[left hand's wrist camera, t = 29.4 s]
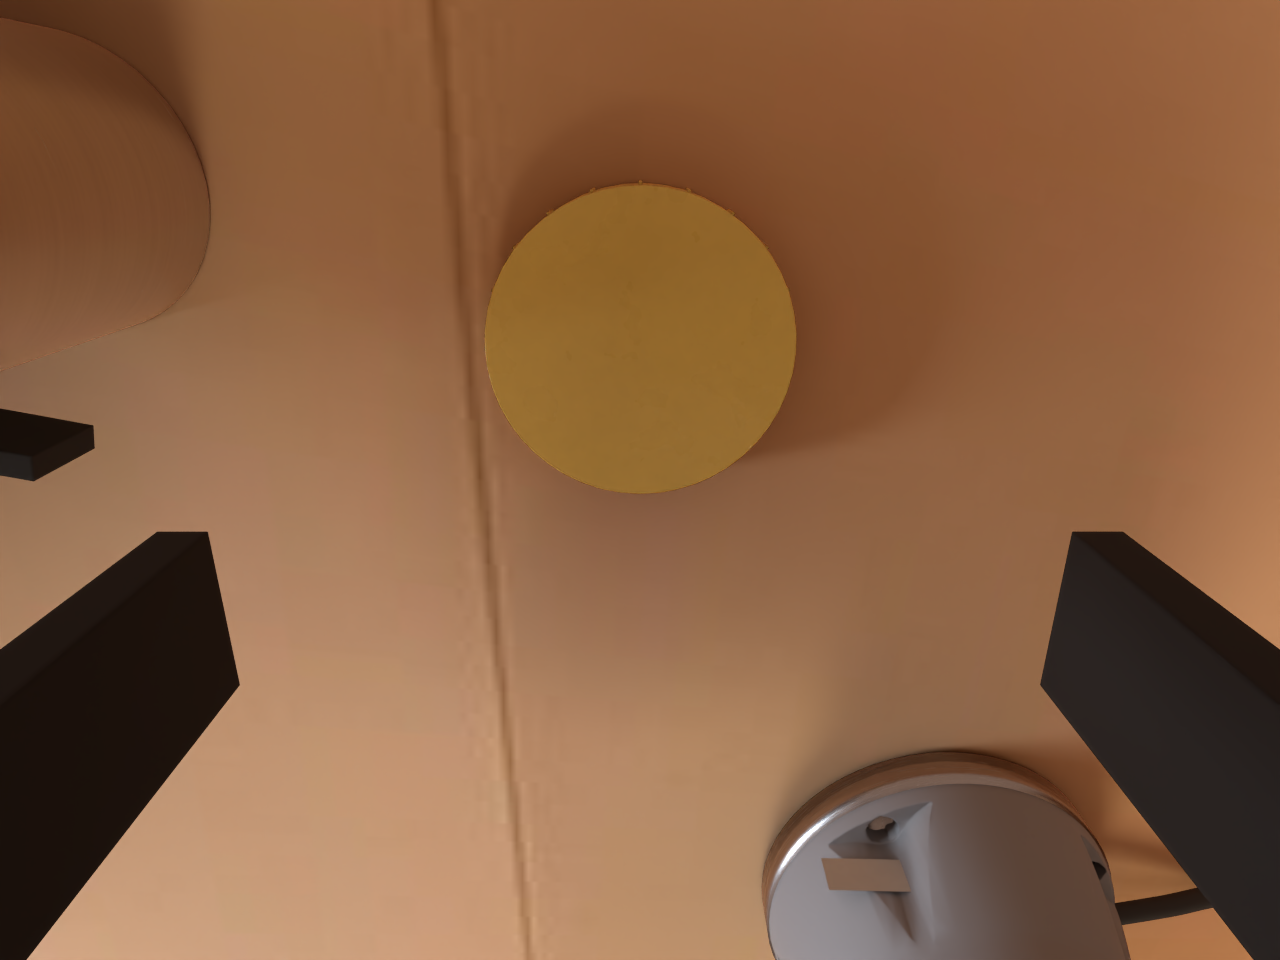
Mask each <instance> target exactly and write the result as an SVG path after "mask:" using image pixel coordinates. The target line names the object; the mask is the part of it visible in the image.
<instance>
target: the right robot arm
mask: <svg viewBox="0 0 1280 960" xmlns="http://www.w3.org/2000/svg"><path fill="white" fill-rule="evenodd" d="M94 448H95V447H94V428H93V425H88V424H82V423H77V422H71V421H66V420H60V419H55V418H49V417H44V416H38V415H33V414H27V413H22V412H16V411H11V410H5V409H0V475H1V476H7V477H12V478H18V479H24V480H30V481H35V480H37V479H39V478H41V477H43V476H44V475H46V474H48V473H50V472H52V471H54V470H55V469H57V468H59V467H61V466H63V465H65V464H67V463H68V462H70V461H72V460H74V459H76V458H78V457H79V456H81V455H83V454H85V453H87V452H89V451H90V450H92V449H94Z"/></svg>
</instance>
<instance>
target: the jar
mask: <svg viewBox="0 0 1280 960" xmlns="http://www.w3.org/2000/svg"><path fill="white" fill-rule="evenodd" d="M209 227H210V204H209V197H208V190H207V184H206V180H205V177H204V173H203V169H202V166H201V163H200V160H199V158H198V155H197V153H196V150H195V147H194V145H193V143H192V141H191V139H190V137H189V135H188V133H187V132H186V130H185V128H184V126H183V124H182V123H181V121H180V120H179V118H178V117H177V115H176V114H175V112H174V111H173V109H172V108H171V106H170V105H169V104H168V103H167V102H166V100H165V99H164V98H163V97H162V96H161V94H160V93H159V92H158V91H157V90H156V88H155V87H154V86H153V85H151V84H150V83H149V82H148V81H147V80H146V79H145V78H144V77H143V76H142V75H141V74H140V73H139V72H138V71H137V70H135V69H134V68H133V67H131V66H130V65H129V64H128V63H126V62H125V61H124V60H122V59H121V58H120V57H118V56H116V55H115V54H113V53H112V52H110V51H108V50H107V49H105V48H104V47H102V46H100V45H98V44H96V43H93V42H91V41H89V40H87V39H85V38H83V37H80V36H77V35H74V34H71V33H68V32H65V31H62V30H58V29H53V28H49V27H44V26H39V25H34V24H30V23H25V22H20V21H15V20H11V19H6V18H1V17H0V371H3V370H6V369H9V368H12V367H15V366H18V365H21V364H23V363H26V362H29V361H32V360H35V359H38V358H41V357H44V356H47V355H50V354H53V353H56V352H58V351H61V350H64V349H67V348H70V347H73V346H76V345H79V344H82V343H85V342H88V341H91V340H93V339H96V338H99V337H102V336H105V335H108V334H111V333H114V332H117V331H120V330H123V329H126V328H128V327H131V326H134V325H137V324H140V323H142V322H145V321H147V320H150V319H152V318H154V317H155V316H157V315H159V314H160V313H162V312H164V311H165V310H167V309H168V308H169V307H170V306H171V305H173V304H174V303H175V302H176V301H177V300H178V299H179V298H180V297H181V296H182V295H183V294H184V292H185V291H186V290H187V289H188V288H189V286H190V284H191V283H192V281H193V280H194V278H195V276H196V275H197V273H198V270H199V268H200V266H201V263H202V261H203V258H204V255H205V251H206V247H207V243H208V236H209Z"/></svg>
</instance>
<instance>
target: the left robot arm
mask: <svg viewBox="0 0 1280 960" xmlns="http://www.w3.org/2000/svg"><path fill="white" fill-rule="evenodd" d="M239 685H240V684H239V679H238V674H237V669H236V665H235V660H234V655H233V650H232V645H231V641H230V636H229V631H228V626H227V622H226V617H225V612H224V607H223V602H222V598H221V593H220V588H219V583H218V579H217V574H216V569H215V564H214V559H213V555H212V550H211V545H210V540H209V536H208V532H156V533H155V534H154V535H152V536H151V537H150V538H148V539H147V540H146V541H144V542H143V543H142V544H140V545H139V546H138V547H136V548H135V549H134V550H132V551H131V552H130V553H128V554H127V555H126V556H124V557H123V558H122V559H120V560H119V561H118V562H116V563H115V564H114V565H112V566H111V567H110V568H108V569H107V570H106V571H104V572H103V573H102V574H100V575H99V576H98V577H96V578H95V579H94V580H92V581H91V582H90V583H88V584H87V585H86V586H84V587H83V588H82V589H80V590H79V591H78V592H76V593H75V594H74V595H72V596H71V597H70V598H68V599H67V600H66V601H64V602H63V603H62V604H60V605H59V606H58V607H56V608H55V609H54V610H52V611H51V612H50V613H48V614H47V615H46V616H44V617H43V618H42V619H40V620H39V621H38V622H36V623H35V624H34V625H32V626H31V627H30V628H28V629H27V630H26V631H24V632H23V633H22V634H20V635H19V636H18V637H16V638H15V639H14V640H12V641H11V642H10V643H8V644H7V645H6V646H4V647H3V648H2V649H0V960H27V958H28V957H29V956H30V954H31V953H32V952H33V951H34V949H35V948H36V947H37V945H38V944H39V943H40V942H41V940H42V939H43V938H44V936H45V935H46V934H47V933H48V931H49V930H50V929H51V927H52V926H53V925H54V924H55V922H56V921H57V920H58V918H59V917H60V916H61V915H62V913H63V912H64V911H65V909H66V908H67V907H68V906H69V904H70V903H71V902H72V900H73V899H74V898H75V897H76V895H77V894H78V893H79V891H80V890H81V889H82V888H83V886H84V885H85V884H86V882H87V881H88V880H89V878H90V877H91V876H92V875H93V873H94V872H95V871H96V869H97V868H98V867H99V866H100V864H101V863H102V862H103V860H104V859H105V858H106V857H107V855H108V854H109V853H110V851H111V850H112V849H113V848H114V846H115V845H116V844H117V842H118V841H119V840H120V839H121V837H122V836H123V835H124V833H125V832H126V831H127V830H128V828H129V827H130V826H131V824H132V823H133V822H134V821H135V819H136V818H137V817H138V815H139V814H140V813H141V812H142V810H143V809H144V808H145V806H146V805H147V804H148V803H149V801H150V800H151V799H152V797H153V796H154V795H155V793H156V792H157V791H158V790H159V788H160V787H161V786H162V784H163V783H164V782H165V781H166V779H167V778H168V777H169V775H170V774H171V773H172V772H173V770H174V769H175V768H176V766H177V765H178V764H179V763H180V761H181V760H182V759H183V757H184V756H185V755H186V754H187V752H188V751H189V750H190V748H191V747H192V746H193V745H194V743H195V742H196V741H197V739H198V738H199V737H200V736H201V734H202V733H203V732H204V730H205V729H206V728H207V727H208V725H209V724H210V723H211V721H212V720H213V719H214V717H215V716H216V715H217V714H218V712H219V711H220V710H221V708H222V707H223V706H224V705H225V703H226V702H227V701H228V699H229V698H230V697H231V696H232V694H233V693H234V692H235V690H236V689H237V688H238V687H239ZM1040 685H1041V687H1042V688H1043V689H1044V690H1045V692H1046V693H1047V694H1048V696H1049V697H1050V698H1051V699H1052V701H1053V702H1054V703H1055V705H1056V706H1057V707H1058V708H1059V710H1060V711H1061V712H1062V714H1063V715H1064V716H1065V717H1066V719H1067V720H1068V721H1069V723H1070V724H1071V725H1072V727H1073V728H1074V729H1075V730H1076V732H1077V733H1078V734H1079V736H1080V737H1081V738H1082V739H1083V741H1084V742H1085V743H1086V745H1087V746H1088V747H1089V748H1090V750H1091V751H1092V752H1093V754H1094V755H1095V756H1096V757H1097V759H1098V760H1099V761H1100V763H1101V764H1102V765H1103V766H1104V768H1105V769H1106V770H1107V772H1108V773H1109V774H1110V775H1111V777H1112V778H1113V779H1114V781H1115V782H1116V783H1117V784H1118V786H1119V787H1120V788H1121V790H1122V791H1123V792H1124V793H1125V795H1126V796H1127V797H1128V799H1129V800H1130V801H1131V803H1132V804H1133V805H1134V806H1135V808H1136V809H1137V810H1138V812H1139V813H1140V814H1141V815H1142V817H1143V818H1144V819H1145V821H1146V822H1147V823H1148V824H1149V826H1150V827H1151V828H1152V830H1153V831H1154V832H1155V833H1156V835H1157V836H1158V837H1159V839H1160V840H1161V841H1162V842H1163V844H1164V845H1165V846H1166V848H1167V849H1168V850H1169V851H1170V853H1171V854H1172V855H1173V857H1174V858H1175V859H1176V860H1177V862H1178V863H1179V864H1180V866H1181V867H1182V868H1183V869H1184V871H1185V872H1186V873H1187V875H1188V876H1189V877H1190V879H1191V880H1192V881H1193V882H1194V884H1195V885H1196V886H1197V888H1194V889H1189V890H1185V891H1181V892H1176V893H1172V894H1167V895H1162V896H1156V897H1151V898H1145V899H1138V900H1132V901H1126V902H1119V903H1115V897H1114V890H1113V885H1112V880H1111V873H1110V869H1109V865H1108V862H1107V859H1106V857H1105V854H1104V852H1103V850H1102V848H1101V846H1100V845H1099V843H1098V841H1097V840H1096V838H1095V837H1094V835H1093V834H1092V832H1091V831H1090V829H1089V828H1088V826H1087V825H1086V823H1085V822H1084V820H1083V819H1082V817H1081V816H1080V814H1079V813H1078V811H1077V810H1076V808H1075V807H1074V806H1073V804H1072V803H1071V802H1070V800H1069V799H1068V798H1067V797H1066V796H1065V795H1064V794H1063V793H1062V792H1061V791H1060V790H1059V789H1058V788H1057V787H1055V786H1054V785H1053V784H1052V783H1050V782H1049V781H1048V780H1046V779H1045V778H1043V777H1041V776H1040V775H1038V774H1037V773H1035V772H1033V771H1031V770H1029V769H1027V768H1025V767H1023V766H1020V765H1017V764H1015V763H1012V762H1009V761H1006V760H1002V759H999V758H995V757H990V756H985V755H979V754H971V753H961V752H937V753H923V754H916V755H909V756H904V757H899V758H895V759H890V760H887V761H884V762H880V763H877V764H874V765H871V766H869V767H866V768H863V769H861V770H858V771H856V772H854V773H852V774H850V775H848V776H846V777H843V778H842V779H840V780H838V781H836V782H835V783H833V784H831V785H830V786H828V787H826V788H825V789H824V790H822V791H821V792H819V793H818V794H816V795H815V796H814V797H813V798H811V799H810V800H809V801H808V802H807V803H805V804H804V805H803V806H802V807H801V808H800V809H799V810H798V811H797V812H796V813H795V814H794V815H793V816H792V817H791V819H790V820H789V821H788V822H787V824H786V825H785V826H784V827H783V829H782V830H781V832H780V833H779V835H778V836H777V838H776V840H775V842H774V844H773V846H772V848H771V850H770V852H769V855H768V858H767V860H766V863H765V868H764V872H763V878H762V900H763V906H764V913H765V919H766V925H767V931H768V937H769V943H770V946H771V949H772V953H773V955H774V958H775V960H1131V959H1130V955H1129V951H1128V947H1127V943H1126V939H1125V935H1124V931H1123V928H1122V925H1125V924H1132V923H1138V922H1144V921H1150V920H1156V919H1162V918H1167V917H1173V916H1178V915H1183V914H1187V913H1191V912H1196V911H1200V910H1204V909H1209V908H1214V909H1215V911H1216V912H1217V913H1218V915H1219V916H1220V917H1221V918H1222V920H1223V921H1224V922H1225V924H1226V925H1227V926H1228V927H1229V929H1230V930H1231V931H1232V933H1233V934H1234V935H1235V936H1236V938H1237V939H1238V940H1239V942H1240V943H1241V944H1242V945H1243V947H1244V948H1245V949H1246V951H1247V952H1248V953H1249V954H1250V956H1251V957H1252V958H1253V960H1280V649H1278V648H1277V647H1276V646H1274V645H1273V644H1272V643H1270V642H1269V641H1268V640H1266V639H1265V638H1264V637H1262V636H1261V635H1260V634H1258V633H1257V632H1256V631H1254V630H1253V629H1252V628H1250V627H1249V626H1248V625H1246V624H1245V623H1244V622H1242V621H1241V620H1240V619H1238V618H1237V617H1236V616H1234V615H1233V614H1232V613H1230V612H1229V611H1228V610H1226V609H1225V608H1224V607H1222V606H1221V605H1220V604H1218V603H1217V602H1216V601H1214V600H1213V599H1212V598H1210V597H1209V596H1208V595H1206V594H1205V593H1204V592H1202V591H1201V590H1200V589H1198V588H1197V587H1196V586H1194V585H1193V584H1192V583H1190V582H1189V581H1188V580H1186V579H1185V578H1184V577H1182V576H1181V575H1180V574H1178V573H1177V572H1176V571H1174V570H1173V569H1172V568H1170V567H1169V566H1168V565H1166V564H1165V563H1164V562H1162V561H1161V560H1160V559H1158V558H1157V557H1156V556H1154V555H1153V554H1152V553H1150V552H1149V551H1148V550H1146V549H1145V548H1144V547H1142V546H1141V545H1140V544H1138V543H1137V542H1136V541H1134V540H1133V539H1132V538H1130V537H1129V536H1128V535H1126V534H1125V533H1124V532H1072V536H1071V540H1070V545H1069V550H1068V555H1067V559H1066V564H1065V569H1064V574H1063V579H1062V583H1061V588H1060V593H1059V598H1058V602H1057V607H1056V612H1055V617H1054V622H1053V626H1052V631H1051V636H1050V641H1049V645H1048V650H1047V655H1046V660H1045V664H1044V669H1043V674H1042V679H1041V684H1040Z"/></svg>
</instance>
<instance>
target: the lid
mask: <svg viewBox="0 0 1280 960" xmlns="http://www.w3.org/2000/svg"><path fill="white" fill-rule="evenodd" d="M546 214H547V216H546V217H545V218H543V219H542V220H541V221H540V222H539V223H538V224H537V225H536V226H535V227H533V228H532V229H531V230H530V231H529V232H528V233H527V234H526V235H525V236H524V238H523V239H522V240H521V241H520V242H518V243H517V244H516V245H514V246H513V248H512V249H513V251H512V253H511V254H510V256H509V258H508V259H507V261H506V263H505V264H504V266H503V267H502V269H501V272H500V274H499V276H498V278H497V281H496V283H495V285H494V287H493V288H492V290H491V292H492V294H491V298H490V301H489V305H488V310H487V316H486V323H485V334H484V338H485V355H486V363H487V369H488V373H489V377H490V381H491V385H492V388H493V391H494V393H495V396H496V398H497V401H498V403H499V406H500V407H501V409H502V411H503V413H504V415H505V416H506V418H507V420H508V422H509V423H510V425H511V426H512V427H513V429H514V430H515V431H516V433H517V434H518V435H519V437H520V438H521V439H522V440H523V441H524V442H525V443H526V444H527V446H528V447H529V448H530V449H531V450H532V451H533V452H534V453H535V454H537V455H538V456H539V457H540V458H542V459H543V460H544V461H545V462H546V463H548V464H549V465H551V466H552V467H554V468H555V469H557V470H558V471H560V472H562V473H563V474H565V475H567V476H569V477H571V478H573V479H575V480H578V481H580V482H582V483H585V484H588V485H591V486H594V487H597V488H600V489H604V490H609V491H614V492H620V493H633V494H646V493H660V492H666V491H672V490H677V489H680V488H684V487H687V486H691V485H694V484H696V483H699V482H701V481H703V480H706V479H708V478H710V477H712V476H714V475H716V474H717V473H719V472H721V471H723V470H724V469H726V468H728V467H729V466H730V465H732V464H733V463H734V462H736V461H737V460H738V459H740V458H741V457H742V456H743V455H745V454H746V453H747V452H748V451H749V450H750V449H751V448H752V447H753V446H754V445H755V444H756V443H757V442H758V440H759V439H760V438H761V437H762V435H763V434H764V433H765V432H766V430H767V429H768V428H769V426H770V425H771V423H772V421H773V420H774V418H775V416H776V415H777V413H778V412H779V410H780V408H781V405H782V403H783V401H784V398H785V396H786V394H787V391H788V388H789V385H790V381H791V378H792V375H793V369H794V363H795V357H796V337H797V332H796V323H795V314H794V309H793V305H792V301H791V297H790V293H789V291H790V290H789V288H788V287H787V285H786V283H785V280H784V278H783V275H782V273H781V271H780V269H779V268H778V266H777V264H776V262H775V261H774V259H773V257H772V255H771V254H770V253H769V251H768V250H767V249H769V248H768V246H767V245H765V244H764V243H763V242H761V241H760V239H759V238H758V237H757V236H756V235H755V234H754V233H753V232H752V231H751V230H750V229H749V228H748V227H747V226H746V225H745V224H744V223H743V222H741V221H740V220H739V219H737V218H736V217H735V216H734V214H735V213H734V212H733V211H731V210H730V209H727V210H725V209H724V208H722V207H721V206H719V205H717V204H715V203H714V202H712V201H710V200H708V199H706V198H705V197H703V196H700V195H697V194H695V193H692V192H691V189H689V188H687V187H686V189H685V190H684V189H681V188H676V187H672V186H668V185H663V184H651V183H642V180H639V183H629V184H619V185H614V186H609V187H604V188H600V189H597V190H596V189H595V187H594V188H592V189H591V190H590V192H589V193H586V194H583V195H581V196H579V197H577V198H575V199H573V200H571V201H569V202H567V203H565V204H564V205H562V206H561V207H559V208H558V209H556V210H555V211H554V210H553V209H551V210H550V211H548V212H547V213H546Z"/></svg>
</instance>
